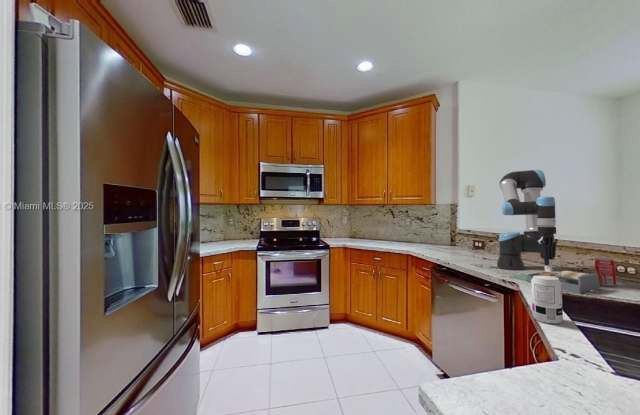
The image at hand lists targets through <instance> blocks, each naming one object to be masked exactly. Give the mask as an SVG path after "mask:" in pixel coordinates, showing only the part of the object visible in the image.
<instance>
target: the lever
mask: <svg viewBox="0 0 640 415" xmlns="http://www.w3.org/2000/svg"><path fill="white" fill-rule="evenodd" d="M539 273H540V275H545V276H552V277H556V278H563V279H569V280H574V281H578V279H572V278H567V277H562V272H561V273H560V274H559V273H557V272H553V271H552V272H546V271H540V272H539Z"/></svg>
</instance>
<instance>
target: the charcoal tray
mask: <svg viewBox="0 0 640 415" xmlns="http://www.w3.org/2000/svg"><path fill="white" fill-rule="evenodd" d="M526 275H527V281H526V282H527V283H530V284H531V280H532V278H533V276H535V275H540V272H535V273H528V274H526ZM558 279H559V281H560V282H561V286H562V291H566V292H571V293H576V294H584V293H588V292H587V291H590V292H592V291H591V290H595V291H599V290H598V289H600V286H601V285H600V282H598V274H597V273H595V272H594V273H591V274H587V275H583V276H578V281H574V280H569V279H563V278H558Z"/></svg>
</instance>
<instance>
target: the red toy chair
mask: <svg viewBox="0 0 640 415" xmlns="http://www.w3.org/2000/svg"><path fill="white" fill-rule="evenodd" d="M595 273H597V274H598V282H600V286H601V287H607V288H608V287H611V288H612V287H615V286H617V276H616V273H617V272H616V262H615V261H614V258H605V257H596V258H595V260H594V274H595Z"/></svg>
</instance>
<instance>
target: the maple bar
mask: <svg viewBox="0 0 640 415" xmlns="http://www.w3.org/2000/svg"><path fill="white" fill-rule="evenodd" d="M561 273H562V277H567V278H572V279H578V276H583V275H588V274H587V273H584V272H583V273H582V272H578V271H576V272H575V271H572V270H571V271H570V270H561Z"/></svg>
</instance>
